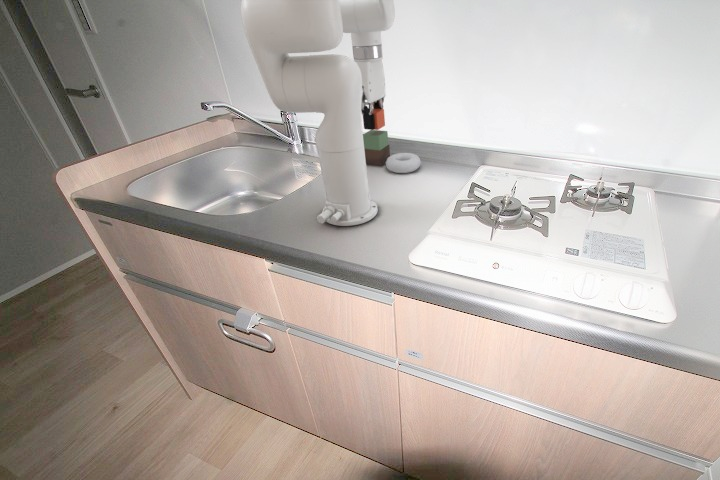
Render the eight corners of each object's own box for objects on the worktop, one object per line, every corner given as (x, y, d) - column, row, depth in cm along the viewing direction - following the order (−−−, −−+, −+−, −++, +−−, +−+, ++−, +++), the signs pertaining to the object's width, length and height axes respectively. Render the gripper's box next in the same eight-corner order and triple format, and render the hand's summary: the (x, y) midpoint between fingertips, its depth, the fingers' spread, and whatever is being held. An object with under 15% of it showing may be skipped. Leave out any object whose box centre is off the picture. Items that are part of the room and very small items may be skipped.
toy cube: (377, 130, 102) (376, 113, 99) (363, 128, 104) (362, 112, 101) (385, 125, 105) (383, 109, 102) (371, 124, 107) (370, 108, 104)
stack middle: (379, 150, 104) (378, 136, 102) (363, 148, 107) (361, 134, 104) (388, 144, 108) (387, 131, 106) (372, 143, 111) (371, 129, 108)
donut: (392, 161, 110) (381, 173, 102) (391, 150, 108) (380, 161, 100) (424, 163, 107) (415, 176, 99) (424, 152, 105) (415, 163, 97)
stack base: (381, 166, 107) (380, 151, 104) (363, 164, 109) (362, 149, 106) (390, 159, 111) (389, 144, 109) (373, 157, 113) (371, 142, 111)
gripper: (370, 49, 101) (376, 118, 112) (337, 58, 89) (347, 134, 100) (395, 49, 98) (398, 119, 109) (364, 58, 86) (371, 136, 97)
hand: (374, 125), depth 104 cm, fingers closed on toy cube, 4 cm apart
